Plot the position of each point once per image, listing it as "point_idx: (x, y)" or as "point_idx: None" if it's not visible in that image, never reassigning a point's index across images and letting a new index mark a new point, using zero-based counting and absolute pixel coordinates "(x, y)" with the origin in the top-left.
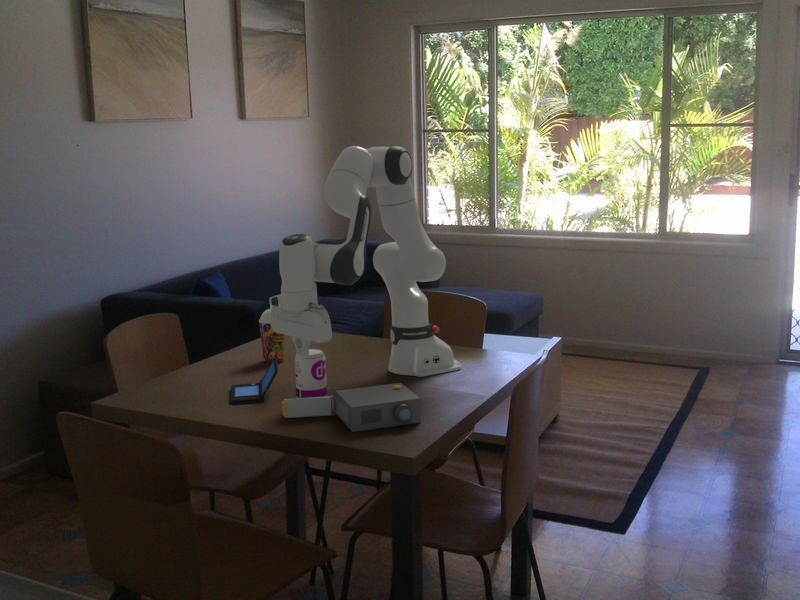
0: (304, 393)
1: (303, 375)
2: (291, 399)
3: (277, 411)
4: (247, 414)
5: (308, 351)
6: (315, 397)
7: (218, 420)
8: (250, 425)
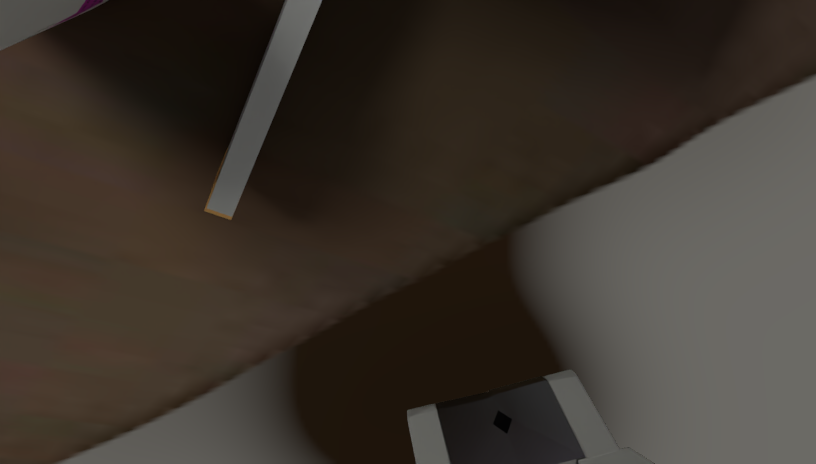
0: (87, 6)
1: (15, 39)
2: (246, 175)
3: (79, 146)
4: (68, 285)
5: (592, 404)
6: (293, 12)
7: (110, 395)
8: (252, 316)
